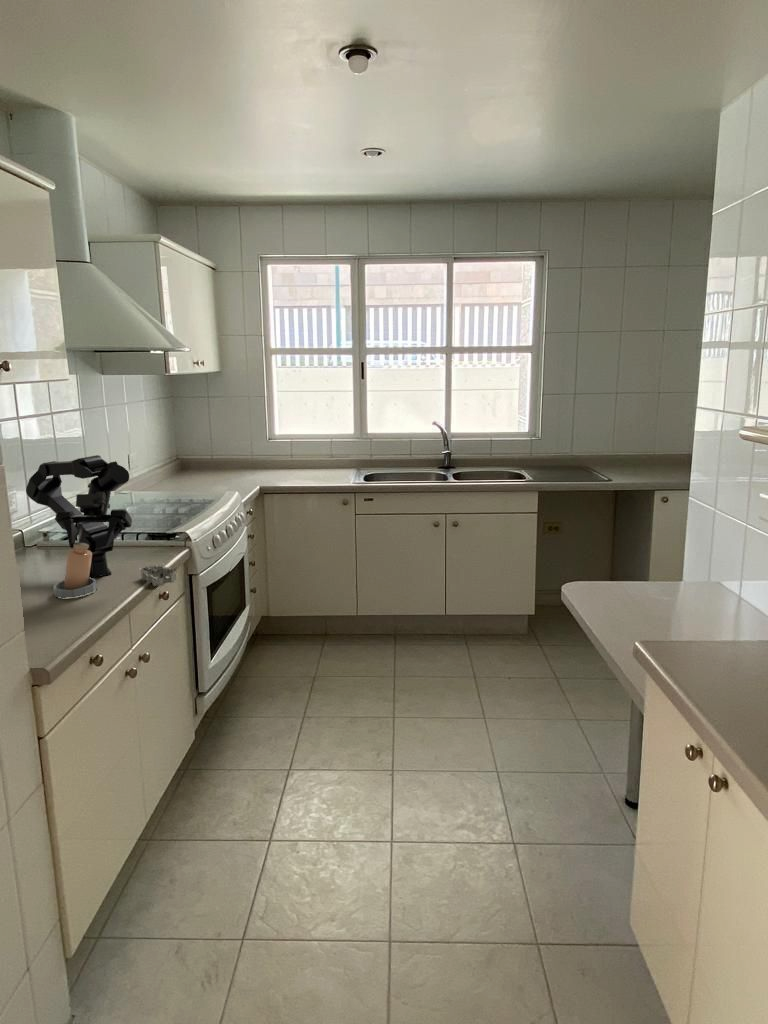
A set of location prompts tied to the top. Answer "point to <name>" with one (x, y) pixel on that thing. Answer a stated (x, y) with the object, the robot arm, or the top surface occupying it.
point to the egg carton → (158, 575)
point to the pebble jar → (78, 566)
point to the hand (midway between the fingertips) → (88, 546)
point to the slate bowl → (64, 593)
